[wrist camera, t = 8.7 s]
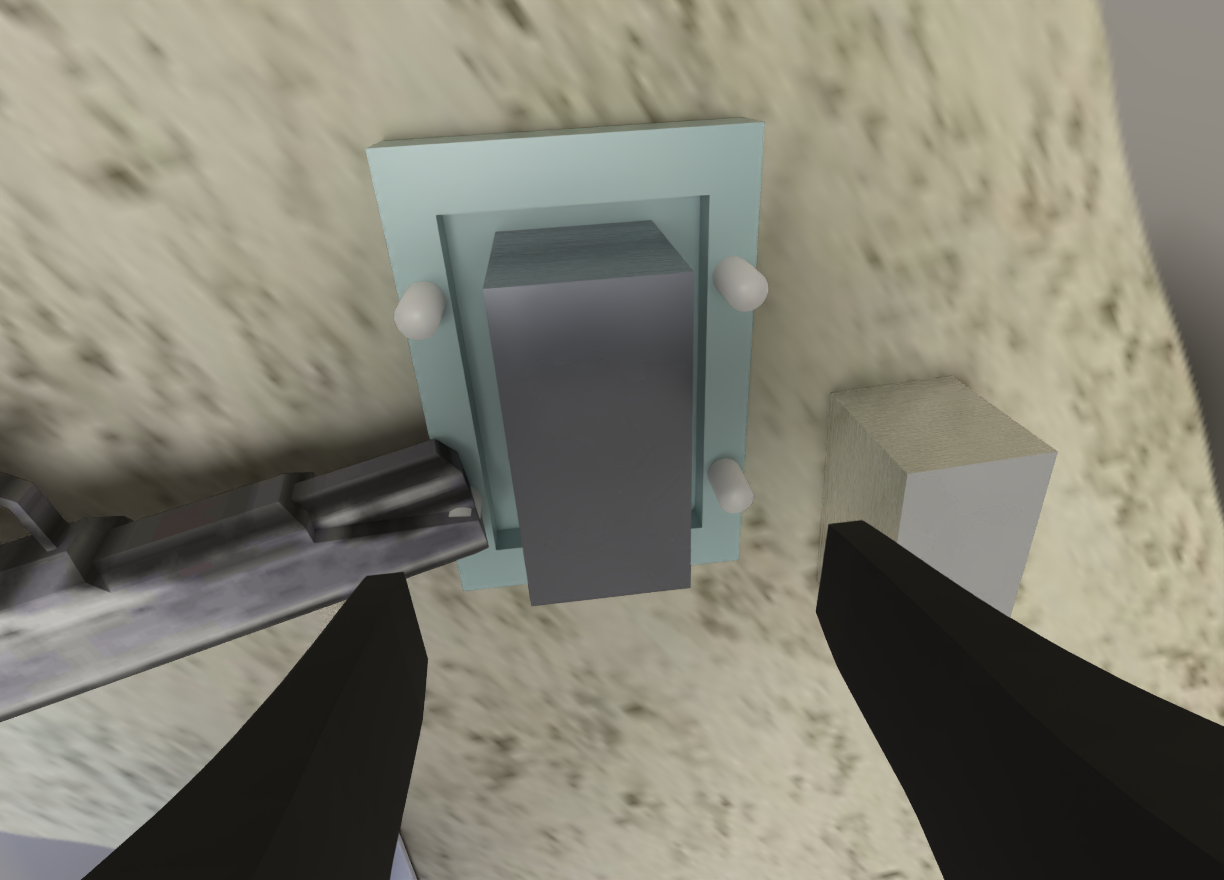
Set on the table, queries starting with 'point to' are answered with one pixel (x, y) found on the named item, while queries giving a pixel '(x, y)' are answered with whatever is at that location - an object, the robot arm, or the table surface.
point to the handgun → (212, 567)
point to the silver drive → (938, 480)
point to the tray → (558, 197)
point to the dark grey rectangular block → (596, 405)
